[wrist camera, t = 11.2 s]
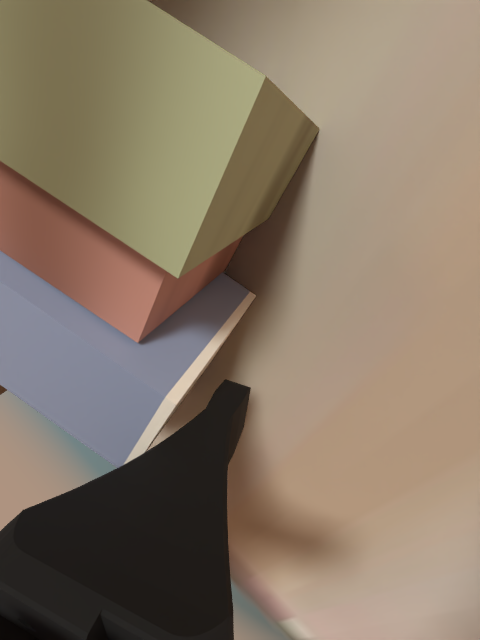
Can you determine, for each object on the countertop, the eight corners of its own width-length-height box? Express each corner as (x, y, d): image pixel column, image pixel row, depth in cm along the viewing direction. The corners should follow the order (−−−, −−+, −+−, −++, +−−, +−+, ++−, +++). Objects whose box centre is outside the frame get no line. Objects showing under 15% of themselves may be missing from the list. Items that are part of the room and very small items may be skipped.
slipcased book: (256, 295, 12) (176, 405, 7) (215, 354, 14) (128, 475, 9) (114, 196, 12) (-81, 224, 7) (94, 270, 14) (-68, 337, 9)
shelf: (325, 117, 9) (279, 44, 3) (164, 403, 17) (73, 517, 11) (123, -12, 9) (-238, -283, 3) (59, 332, 17) (-78, 412, 12)
